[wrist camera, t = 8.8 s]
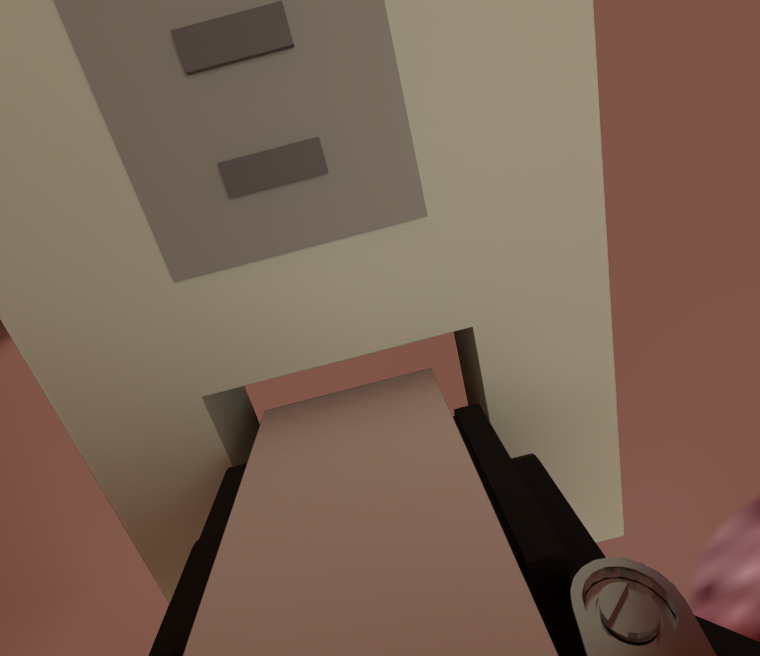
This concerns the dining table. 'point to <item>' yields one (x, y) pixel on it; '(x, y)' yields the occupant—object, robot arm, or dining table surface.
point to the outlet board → (301, 227)
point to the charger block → (365, 539)
